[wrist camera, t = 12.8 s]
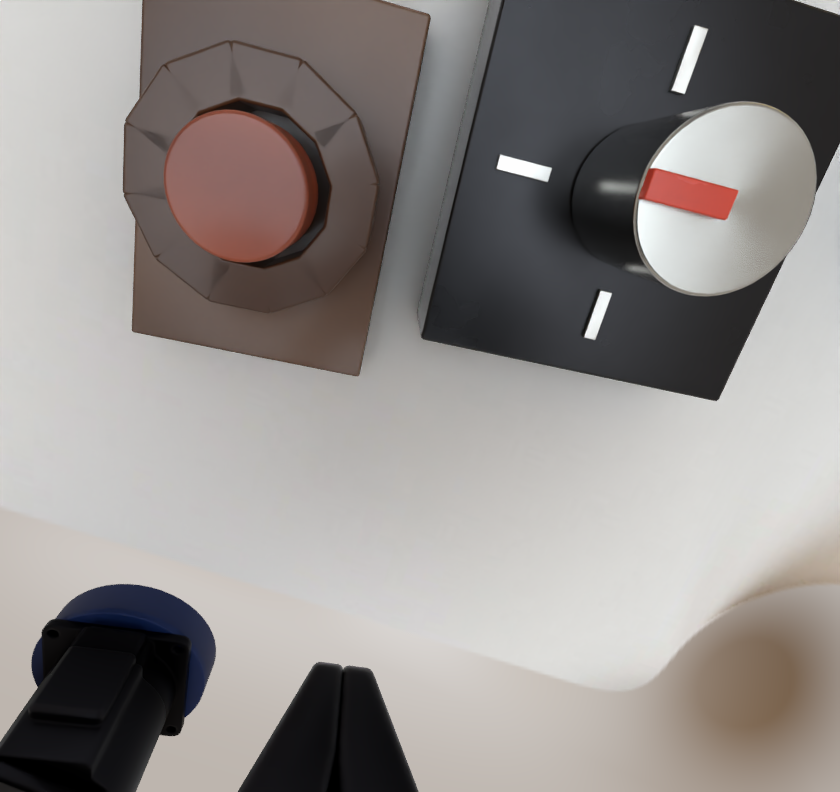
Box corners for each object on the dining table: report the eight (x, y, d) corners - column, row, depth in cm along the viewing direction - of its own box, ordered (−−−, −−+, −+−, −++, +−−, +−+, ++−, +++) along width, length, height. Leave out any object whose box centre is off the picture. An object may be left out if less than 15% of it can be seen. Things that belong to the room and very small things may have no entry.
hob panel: (671, 370, 19) (721, 404, 16) (416, 314, 18) (421, 341, 15) (805, 56, 16) (900, 28, 13) (497, -39, 14) (524, -94, 12)
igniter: (361, 360, 19) (355, 399, 15) (153, 319, 18) (100, 349, 14) (427, 31, 15) (437, -10, 12) (171, -43, 14) (105, -109, 11)
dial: (729, 142, 14) (867, 126, 10) (673, 280, 15) (775, 317, 11) (598, 105, 13) (687, 73, 9) (552, 251, 14) (613, 279, 10)
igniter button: (308, 265, 14) (298, 276, 13) (185, 238, 14) (158, 246, 12) (328, 136, 13) (319, 130, 11) (195, 102, 13) (165, 90, 11)
